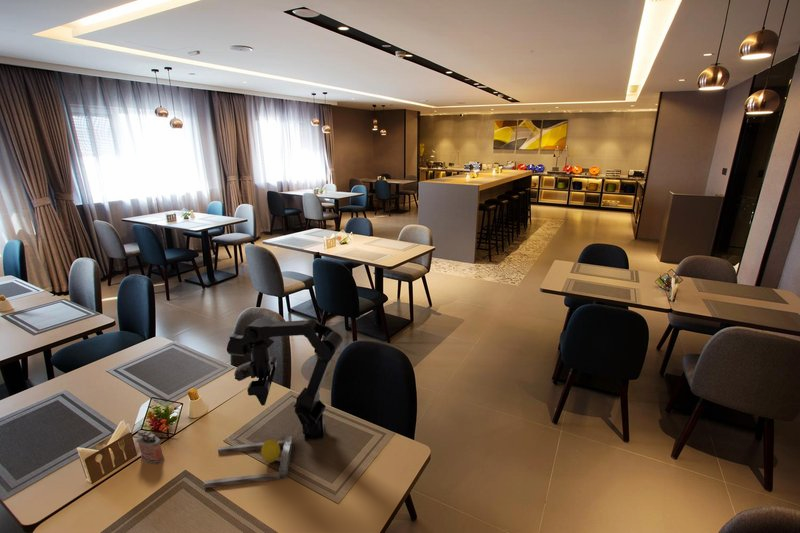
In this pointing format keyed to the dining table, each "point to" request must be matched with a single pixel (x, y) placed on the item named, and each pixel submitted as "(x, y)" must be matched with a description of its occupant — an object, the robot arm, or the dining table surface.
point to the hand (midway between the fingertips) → (265, 396)
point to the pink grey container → (150, 447)
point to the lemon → (270, 451)
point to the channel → (259, 477)
